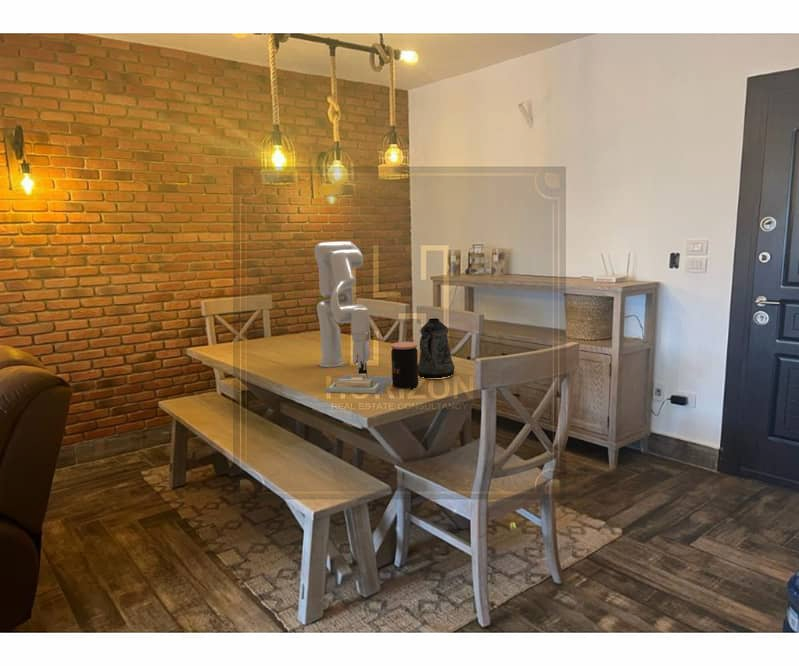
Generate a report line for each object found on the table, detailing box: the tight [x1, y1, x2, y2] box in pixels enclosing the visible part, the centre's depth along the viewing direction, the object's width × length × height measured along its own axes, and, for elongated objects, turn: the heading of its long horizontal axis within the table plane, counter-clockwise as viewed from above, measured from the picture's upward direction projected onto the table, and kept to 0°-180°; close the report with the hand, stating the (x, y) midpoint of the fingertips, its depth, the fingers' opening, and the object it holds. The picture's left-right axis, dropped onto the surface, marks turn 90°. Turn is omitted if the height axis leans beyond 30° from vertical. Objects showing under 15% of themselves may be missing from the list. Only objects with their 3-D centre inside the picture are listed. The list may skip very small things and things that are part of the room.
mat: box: [322, 375, 392, 395], centre depth 241 cm, size 26×24×3 cm
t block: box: [335, 372, 373, 388], centre depth 237 cm, size 14×14×4 cm
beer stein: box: [418, 317, 455, 379], centre depth 253 cm, size 16×19×25 cm
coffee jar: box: [390, 341, 419, 391], centre depth 237 cm, size 11×11×18 cm
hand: (363, 378), depth 246 cm, fingers closed
